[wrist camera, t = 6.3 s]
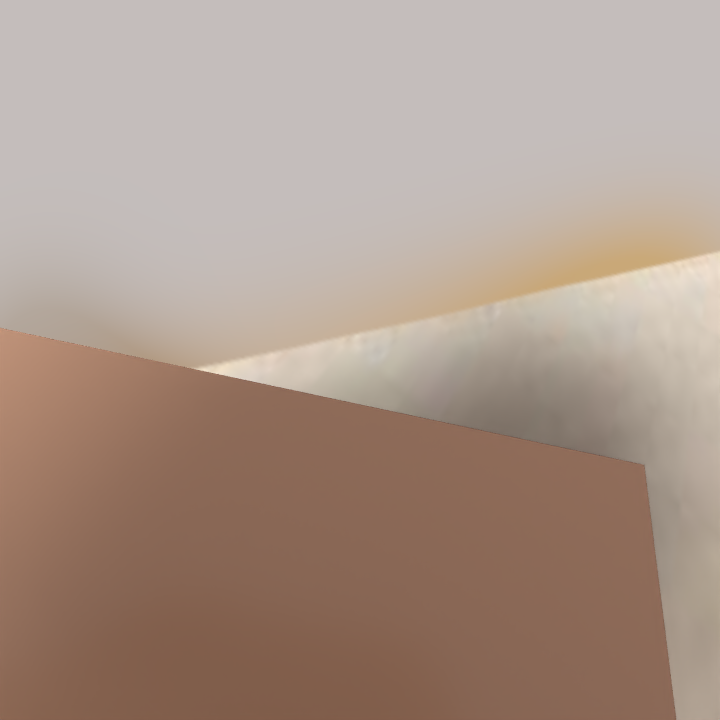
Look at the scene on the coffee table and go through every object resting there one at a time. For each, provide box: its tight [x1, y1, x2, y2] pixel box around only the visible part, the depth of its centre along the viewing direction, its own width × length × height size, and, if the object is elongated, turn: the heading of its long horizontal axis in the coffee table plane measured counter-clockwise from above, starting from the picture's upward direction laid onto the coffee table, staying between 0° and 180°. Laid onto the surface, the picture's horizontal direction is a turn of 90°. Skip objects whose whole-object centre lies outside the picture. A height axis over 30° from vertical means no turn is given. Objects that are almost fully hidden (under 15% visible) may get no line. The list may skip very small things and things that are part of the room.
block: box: [0, 328, 676, 720], centre depth 8 cm, size 4×4×13 cm
